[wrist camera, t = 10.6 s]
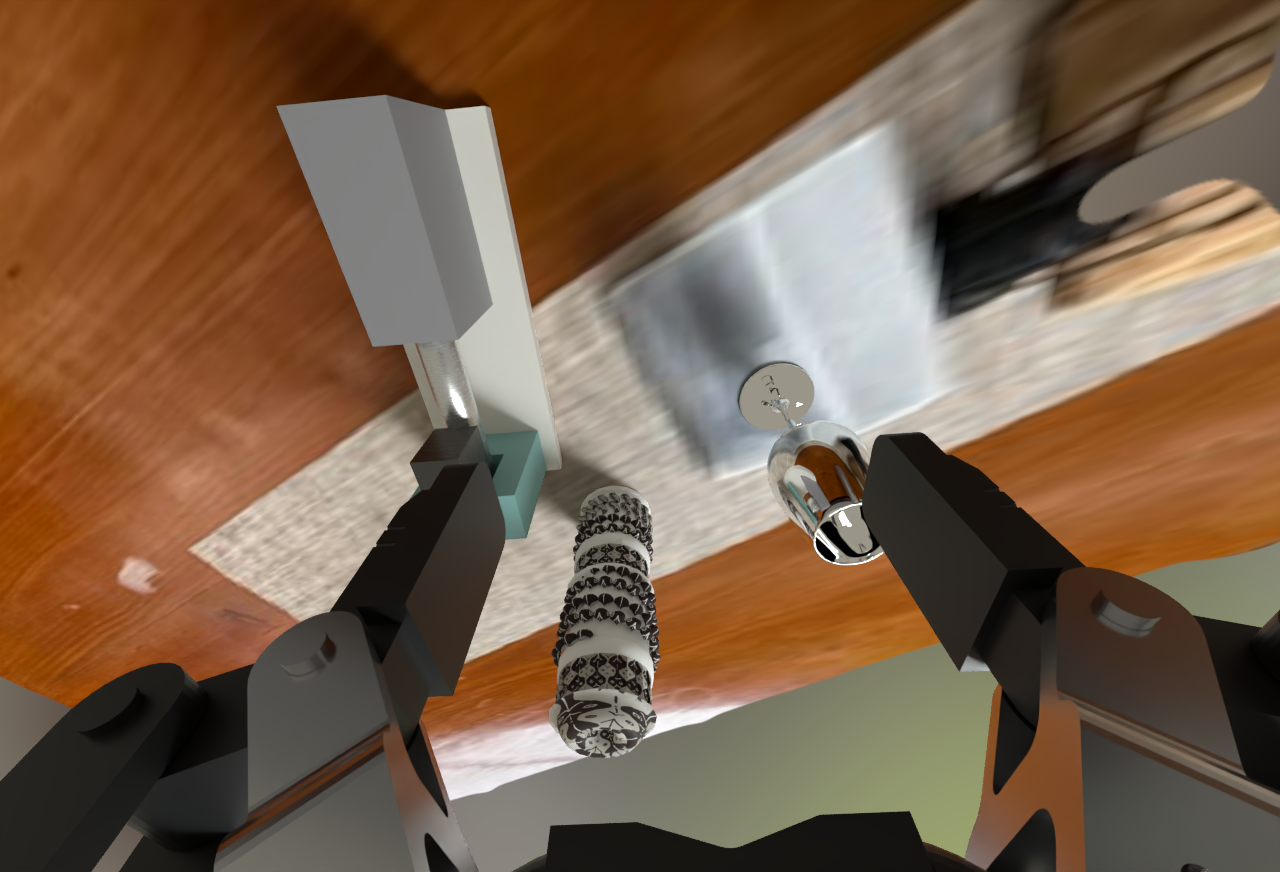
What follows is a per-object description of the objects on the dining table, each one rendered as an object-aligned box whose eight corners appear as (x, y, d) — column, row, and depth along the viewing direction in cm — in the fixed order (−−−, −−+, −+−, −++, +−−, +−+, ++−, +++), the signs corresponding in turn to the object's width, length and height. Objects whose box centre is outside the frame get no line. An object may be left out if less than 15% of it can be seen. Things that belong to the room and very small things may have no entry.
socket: (451, 436, 47) (407, 502, 38) (537, 430, 47) (514, 495, 38) (464, 474, 50) (426, 544, 41) (546, 468, 49) (526, 538, 40)
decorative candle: (583, 544, 57) (550, 775, 36) (571, 485, 52) (525, 710, 31) (656, 539, 57) (667, 769, 35) (650, 480, 52) (660, 704, 31)
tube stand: (333, 123, 35) (225, 111, 25) (490, 107, 34) (437, 89, 25) (456, 469, 51) (417, 536, 42) (562, 461, 51) (546, 527, 42)
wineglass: (795, 437, 49) (880, 585, 32) (726, 421, 48) (776, 566, 31) (828, 371, 45) (944, 501, 28) (754, 353, 44) (828, 476, 27)
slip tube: (394, 258, 34) (335, 283, 27) (442, 254, 34) (394, 278, 27) (471, 484, 45) (442, 541, 38) (507, 482, 45) (485, 539, 38)
